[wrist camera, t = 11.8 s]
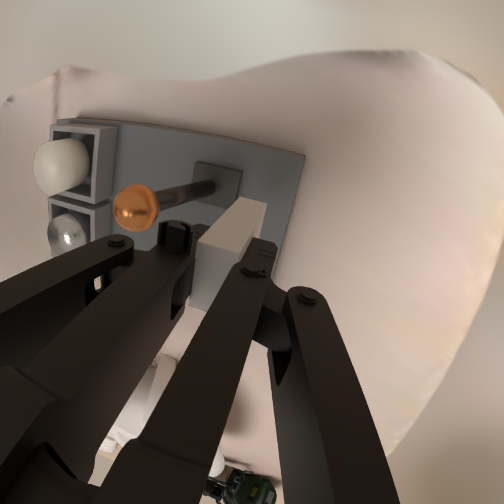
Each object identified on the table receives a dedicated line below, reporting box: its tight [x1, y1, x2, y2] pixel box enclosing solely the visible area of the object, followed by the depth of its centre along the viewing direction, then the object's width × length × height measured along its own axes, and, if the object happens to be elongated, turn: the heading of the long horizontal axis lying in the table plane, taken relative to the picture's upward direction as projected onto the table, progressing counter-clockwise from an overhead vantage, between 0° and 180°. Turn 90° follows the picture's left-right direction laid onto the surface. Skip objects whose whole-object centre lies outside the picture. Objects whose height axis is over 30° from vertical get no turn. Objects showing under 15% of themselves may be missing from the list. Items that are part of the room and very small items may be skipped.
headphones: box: [203, 465, 277, 504], centre depth 45 cm, size 13×13×20 cm
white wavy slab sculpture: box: [107, 355, 225, 477], centre depth 35 cm, size 35×16×11 cm, turn 73°
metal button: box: [48, 210, 91, 256], centre depth 25 cm, size 4×4×3 cm
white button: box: [33, 138, 89, 195], centre depth 20 cm, size 4×4×3 cm
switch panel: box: [48, 118, 305, 280], centre depth 25 cm, size 24×14×6 cm, turn 78°
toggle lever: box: [113, 180, 216, 232], centre depth 18 cm, size 3×3×9 cm
